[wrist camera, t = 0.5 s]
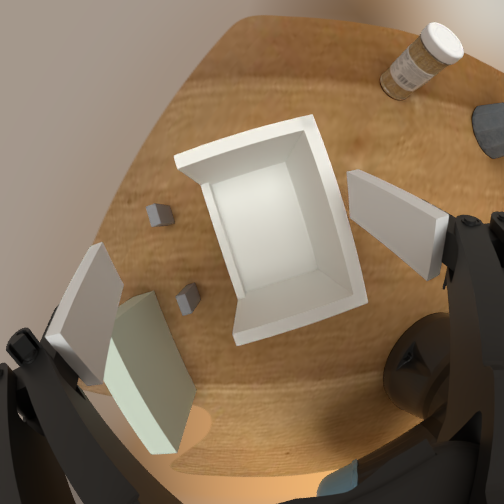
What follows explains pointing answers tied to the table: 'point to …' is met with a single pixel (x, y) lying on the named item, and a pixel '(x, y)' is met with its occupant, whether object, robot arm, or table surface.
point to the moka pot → (490, 128)
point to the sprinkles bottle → (422, 61)
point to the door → (148, 375)
